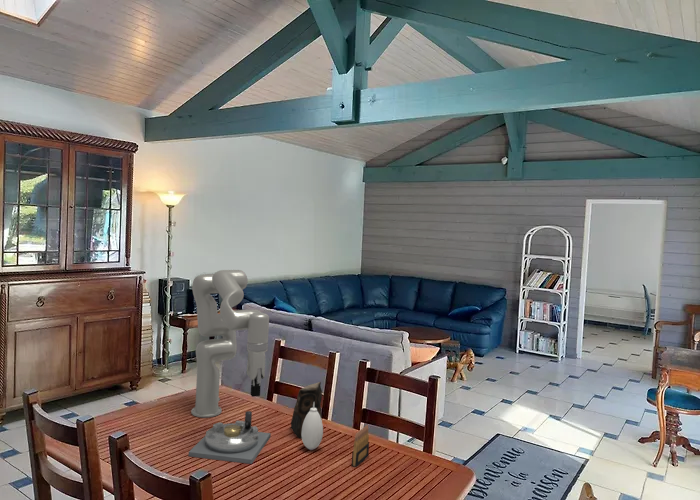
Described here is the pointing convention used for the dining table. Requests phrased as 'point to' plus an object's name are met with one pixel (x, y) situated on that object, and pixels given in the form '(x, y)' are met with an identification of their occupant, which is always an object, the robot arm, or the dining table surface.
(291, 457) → the dining table surface
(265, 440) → the plate
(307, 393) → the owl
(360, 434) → the brown flat upright block
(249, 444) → the grey crank wheel
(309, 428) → the white air blower bulb
